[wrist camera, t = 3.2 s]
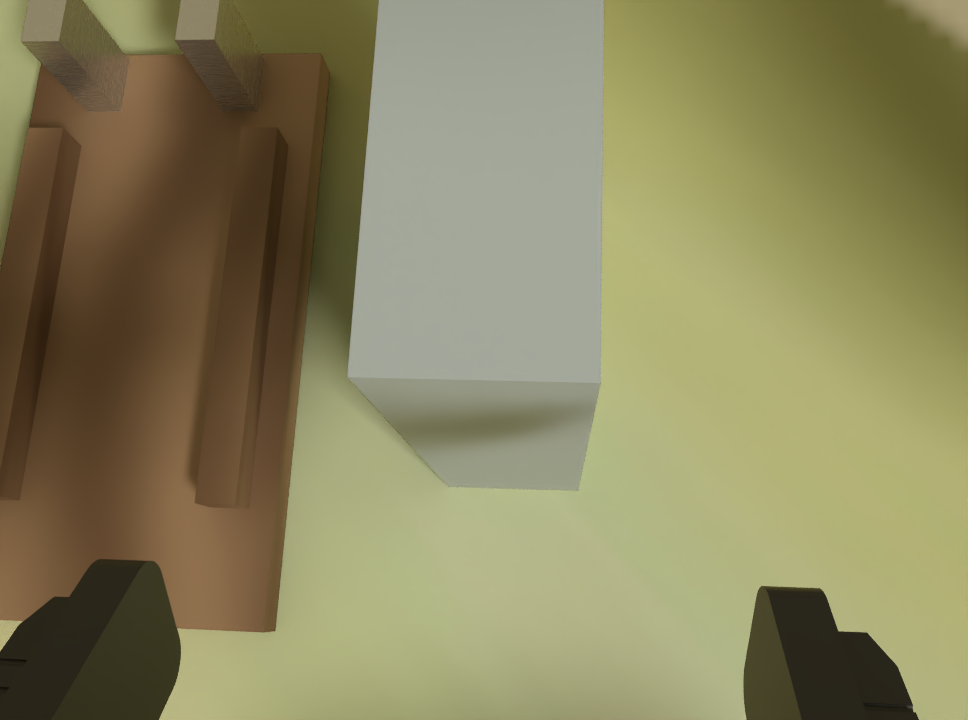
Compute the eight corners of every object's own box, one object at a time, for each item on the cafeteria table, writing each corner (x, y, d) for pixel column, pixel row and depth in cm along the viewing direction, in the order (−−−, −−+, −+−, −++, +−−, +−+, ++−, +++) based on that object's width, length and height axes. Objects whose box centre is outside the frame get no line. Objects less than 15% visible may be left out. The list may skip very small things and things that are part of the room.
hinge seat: (329, 73, 32) (287, -26, 27) (275, 630, 27) (211, 637, 22) (60, 75, 33) (-29, -21, 28) (-40, 615, 28) (-171, 619, 23)
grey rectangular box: (582, 164, 30) (605, -189, 17) (578, 491, 27) (601, 383, 14) (465, 163, 31) (394, -183, 17) (448, 486, 28) (346, 376, 14)
